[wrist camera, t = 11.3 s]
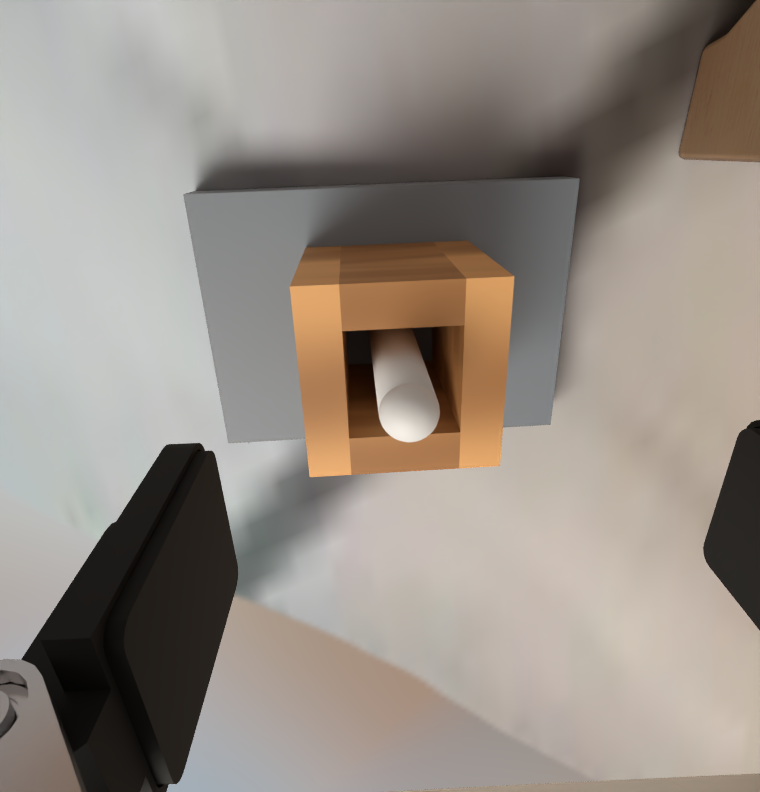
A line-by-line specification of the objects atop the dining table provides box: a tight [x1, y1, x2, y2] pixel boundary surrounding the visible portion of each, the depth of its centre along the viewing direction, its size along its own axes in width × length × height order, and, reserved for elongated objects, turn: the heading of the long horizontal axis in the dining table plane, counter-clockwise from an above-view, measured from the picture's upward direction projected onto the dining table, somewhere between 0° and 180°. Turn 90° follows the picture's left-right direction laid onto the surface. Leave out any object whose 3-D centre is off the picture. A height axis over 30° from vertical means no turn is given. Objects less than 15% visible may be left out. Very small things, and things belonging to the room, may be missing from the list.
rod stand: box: [183, 176, 580, 443], centre depth 18 cm, size 10×14×10 cm
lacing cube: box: [290, 241, 515, 477], centre depth 18 cm, size 6×6×6 cm
